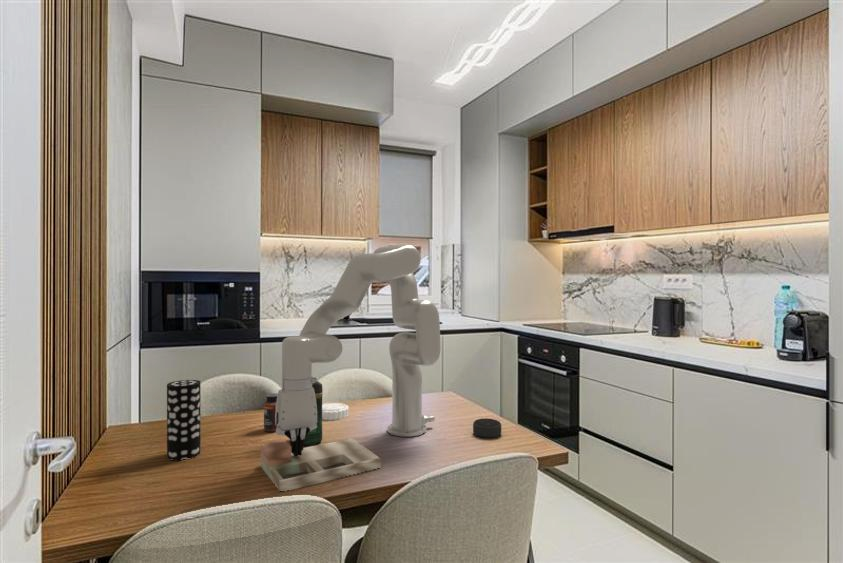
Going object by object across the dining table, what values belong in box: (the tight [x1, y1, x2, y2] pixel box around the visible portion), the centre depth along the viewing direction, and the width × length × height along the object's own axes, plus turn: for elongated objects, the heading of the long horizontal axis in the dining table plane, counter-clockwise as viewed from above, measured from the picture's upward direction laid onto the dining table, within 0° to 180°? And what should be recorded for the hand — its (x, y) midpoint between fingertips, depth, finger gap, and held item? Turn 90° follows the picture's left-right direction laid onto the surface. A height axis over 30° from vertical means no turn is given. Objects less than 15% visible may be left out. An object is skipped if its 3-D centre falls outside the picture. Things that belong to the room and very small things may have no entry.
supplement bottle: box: [263, 393, 278, 433], centre depth 153 cm, size 6×6×11 cm
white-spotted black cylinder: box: [166, 379, 202, 460], centre depth 131 cm, size 8×8×20 cm
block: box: [260, 439, 291, 467], centre depth 121 cm, size 6×6×4 cm
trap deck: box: [259, 438, 382, 492], centre depth 123 cm, size 26×18×2 cm
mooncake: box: [322, 402, 350, 421], centre depth 169 cm, size 12×12×4 cm
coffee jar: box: [295, 381, 324, 446], centre depth 143 cm, size 10×8×19 cm
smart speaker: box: [472, 418, 502, 439], centre depth 150 cm, size 9×9×4 cm
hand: (296, 454), depth 124 cm, fingers closed
